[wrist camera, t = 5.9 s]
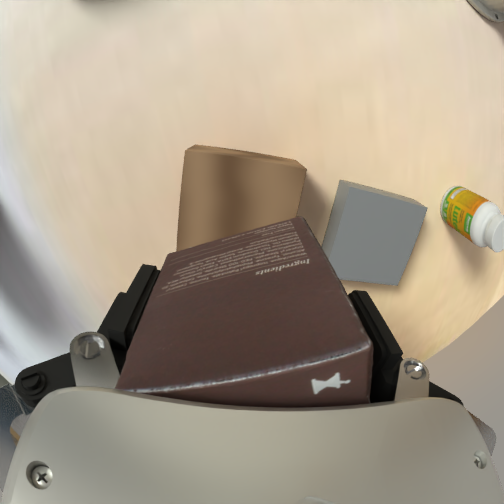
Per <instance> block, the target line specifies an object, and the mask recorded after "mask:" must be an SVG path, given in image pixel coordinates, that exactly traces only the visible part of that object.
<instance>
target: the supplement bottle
mask: <svg viewBox="0 0 504 504" xmlns="http://www.w3.org/2000/svg"><path fill="white" fill-rule="evenodd" d="M440 210H441V216H442V218H443V220H444V221H445V222H446V223H447V224H448V225H449V226H451V227H452V228H454V229H455V230H456V231H458V232H459V233H461V234H462V235H463V236H465V237H466V238H467V239H469V240H470V241H471V242H473V243H474V244H475V245H477V246H479V247H486V246H488V247H489V248H490V249H492V250H493V251H495V252H500V251H502V250H503V249H504V215H502V214H501V212H500V210H499V208H498V207H497V205H495V204H494V203H492V202H491V201H489V200H487V199H485V198H483V197H481V196H479V195H477V194H475V193H473V192H471V191H469V190H468V189H466V188H463V187H461V186H454V187H451V188H450V189H449V190H448V191H447V192H446V193H445V195H444V196H443V199H442V202H441V208H440Z"/></svg>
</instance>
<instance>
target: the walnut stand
mask: <svg viewBox="0 0 504 504" xmlns="http://www.w3.org/2000/svg"><path fill="white" fill-rule="evenodd" d="M306 171H307V169H306V168H305V167H304V166H302V165H301V164H300V163H299V162H298V161H296V160H292V159H287V158H282V157H277V156H271V155H265V154H259V153H253V152H247V151H240V150H234V149H226V148H219V147H211V146H202V145H194V146H192V147H190V148H189V149H187V150H185V156H184V165H183V174H182V184H181V195H180V206H179V219H178V234H177V251H180V250H184V249H187V248H190V247H194V246H197V245H200V244H203V243H207V242H211V241H214V240H217V239H220V238H224V237H228V236H231V235H235V234H238V233H242V232H245V231H249V230H253V229H256V228H259V227H263V226H267V225H270V224H274V223H277V222H281V221H285V220H289V219H292V218H295V217H296V215H297V210H298V206H299V202H300V198H301V193H302V189H303V184H304V180H305V176H306ZM177 251H176V252H177Z"/></svg>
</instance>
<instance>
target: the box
mask: <svg viewBox="0 0 504 504" xmlns="http://www.w3.org/2000/svg"><path fill="white" fill-rule="evenodd" d="M373 349H374V348H373V343H372V341H371V339H370V338H369V336H368V335H367V333H366V331H365V329H364V327H363V325H362V323H361V321H360V318H359V316H358V314H357V312H356V310H355V308H354V306H353V303H352V302H351V300H350V298H349V297H348V295H347V293H346V291H345V289H344V287H343V285H342V283H341V281H340V280H339V278H338V276H337V274H336V272H335V270H334V268H333V267H332V265H331V263H330V262H329V260H328V258H327V256H326V254H325V253H324V251H323V249H322V248H321V246H320V244H319V243H318V241H317V239H316V238H315V236H314V235H313V233H312V231H311V229H310V228H309V226H308V224H307V222H306V220H305V219H304V218H303V217H295V218H292V219H289V220H285V221H281V222H277V223H274V224H270V225H267V226H263V227H259V228H256V229H253V230H249V231H245V232H242V233H238V234H235V235H231V236H228V237H224V238H220V239H217V240H214V241H211V242H207V243H203V244H200V245H197V246H194V247H190V248H187V249H184V250H180V251H177V252H173V253H169V254H168V255H167V257H166V259H165V262H164V264H163V267H162V269H161V271H160V273H159V275H158V278H157V280H156V282H155V285H154V287H153V289H152V292H151V294H150V296H149V299H148V301H147V303H146V306H145V308H144V311H143V314H142V316H141V319H140V322H139V324H138V327H137V329H136V332H135V334H134V337H133V339H132V342H131V345H130V347H129V349H128V352H127V354H126V361H125V364H124V366H123V369H122V372H121V375H120V377H119V379H118V381H117V385H116V387H115V389H119V390H124V391H130V392H137V393H142V394H147V395H153V396H159V397H165V398H172V399H179V400H186V401H193V402H202V403H211V404H221V405H233V406H249V407H276V408H305V407H332V406H348V405H360V404H370V389H371V378H372V366H373Z"/></svg>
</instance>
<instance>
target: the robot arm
mask: <svg viewBox="0 0 504 504" xmlns="http://www.w3.org/2000/svg"><path fill="white" fill-rule="evenodd" d="M468 2H469V3H470V4H471V5H472V6H473V7H474V8H475V9H476V10H477V11H478V12H479V13H480V14H482V15H483V16H484V17H486V18H487V19H489V20H491V21H493V22H503V21H504V0H468ZM159 273H160V270H157V267H156V266H152V265H145V264H143V265H142V266H141V268H140V270H139V271H138V273H137V275H136V277H135V278H134V280H133V282H132V284H131V285H130V287H129V289H128V291H127V293H123V292H120V293H119V294H118V295H117V297H116V299H115V301H114V302H113V304H112V306H111V308H110V309H109V311H108V313H107V315H106V317H105V318H104V320H103V322H102V324H101V326H100V328H99V330H98V331H97V332H85V333H81V334H79V335H78V336H76V337H75V338H74V339H73V340H72V342H71V344H70V352H69V353H67V354H64V355H61V356H58V357H56V358H53V359H50V360H48V361H45V362H42V363H39V364H36V365H34V366H31V367H28V368H26V369H24V370H22V371H21V372H20V373H19V374H18V376H17V378H16V381H15V384H14V385H12V386H10V384H9V383H8V384H7V385H5V386H3V387H1V388H0V489H1V490H2V492H3V495H2V500H1V504H504V493H503V489H502V485H501V482H500V479H499V476H498V474H497V471H496V468H495V465H494V463H493V460H492V458H491V456H492V452H493V449H494V446H495V443H496V435H495V432H494V431H493V429H492V428H490V427H489V426H488V425H486V424H485V423H484V422H482V421H481V420H480V419H478V418H477V417H475V416H474V415H473V414H471V413H470V412H469V411H467V410H466V409H465V407H464V406H463V403H462V402H461V400H460V399H459V398H458V397H456V396H455V395H453V394H451V393H449V392H448V391H446V390H444V389H442V388H440V387H439V386H437V385H435V384H433V383H431V382H430V381H429V371H428V369H427V367H426V366H425V365H424V364H423V363H422V362H421V361H419V360H417V359H414V358H406V359H404V360H403V359H402V357H401V356H402V354H403V352H402V350H401V348H400V347H399V345H398V343H397V341H396V340H395V338H394V336H393V334H392V333H391V331H390V329H389V327H388V326H387V324H386V322H385V321H384V319H383V317H382V316H381V314H380V312H379V311H378V309H377V308H376V306H375V304H374V303H373V301H372V299H371V298H370V296H369V295H368V293H367V292H366V291H358V290H354V291H353V292H352V293H349V294H348V297H349V298H350V300H351V302H352V303H353V306H354V308H355V310H356V312H357V314H358V316H359V318H360V321H361V323H362V325H363V327H364V329H365V331H366V333H367V335H368V336H369V338H370V339H371V341H372V343H373V348H374V349H373V366H372V378H371V389H370V404H360V405H348V406H332V407H305V408H276V407H249V406H233V405H221V404H211V403H202V402H193V401H186V400H179V399H172V398H165V397H159V396H153V395H147V394H142V393H137V392H130V391H124V390H119V389H115V387H116V385H117V381H118V379H119V377H120V375H121V372H122V369H123V366H124V364H125V361H126V354H127V352H128V349H129V347H130V345H131V342H132V339H133V337H134V334H135V332H136V329H137V327H138V324H139V322H140V319H141V316H142V314H143V311H144V308H145V306H146V303H147V301H148V299H149V296H150V294H151V292H152V289H153V287H154V285H155V282H156V280H157V278H158V275H159ZM49 468H50V469H49Z"/></svg>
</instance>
